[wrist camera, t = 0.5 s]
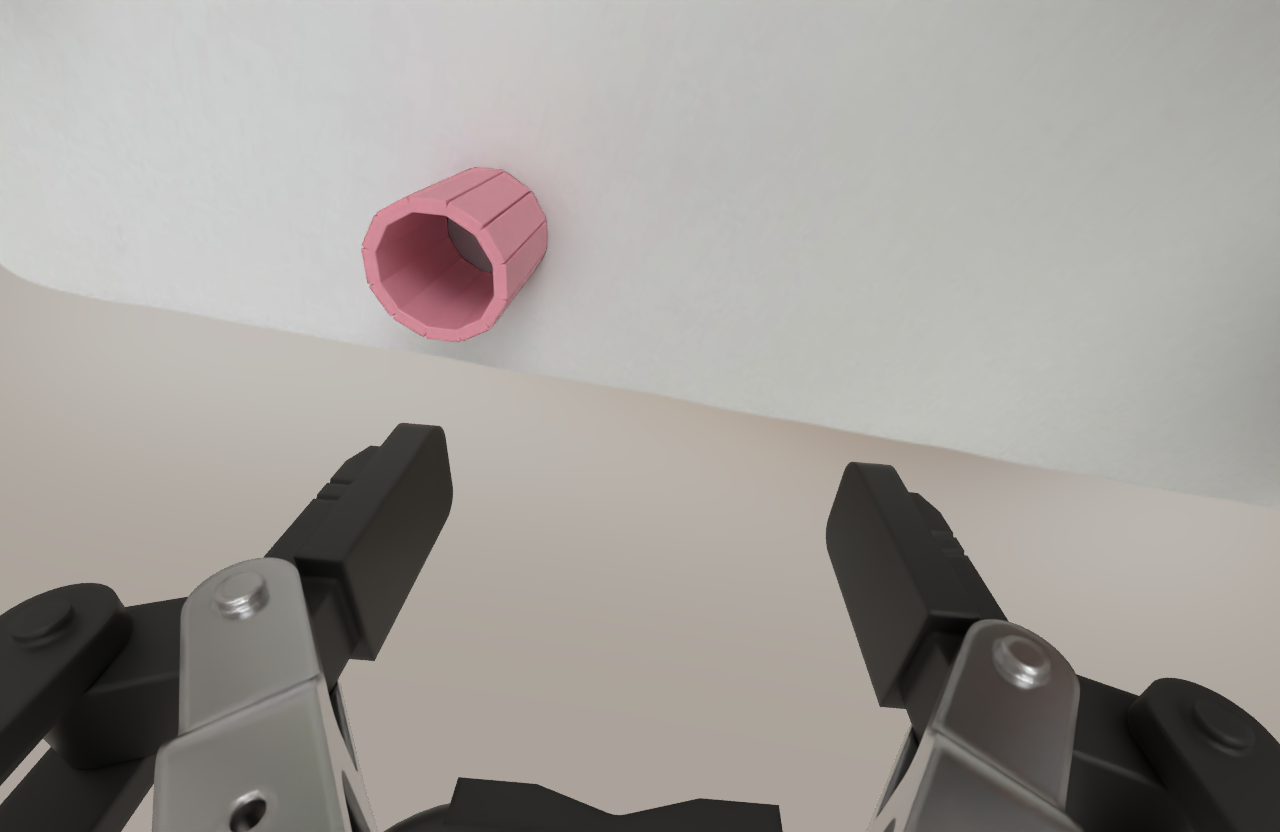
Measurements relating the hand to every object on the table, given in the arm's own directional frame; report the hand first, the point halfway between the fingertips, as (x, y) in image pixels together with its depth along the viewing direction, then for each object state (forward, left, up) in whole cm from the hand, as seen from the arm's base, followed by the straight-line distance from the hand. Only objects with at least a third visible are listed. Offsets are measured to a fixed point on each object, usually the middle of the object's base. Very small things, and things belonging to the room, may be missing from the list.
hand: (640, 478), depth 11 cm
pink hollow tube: (+1, -9, -21) cm, 23 cm away
